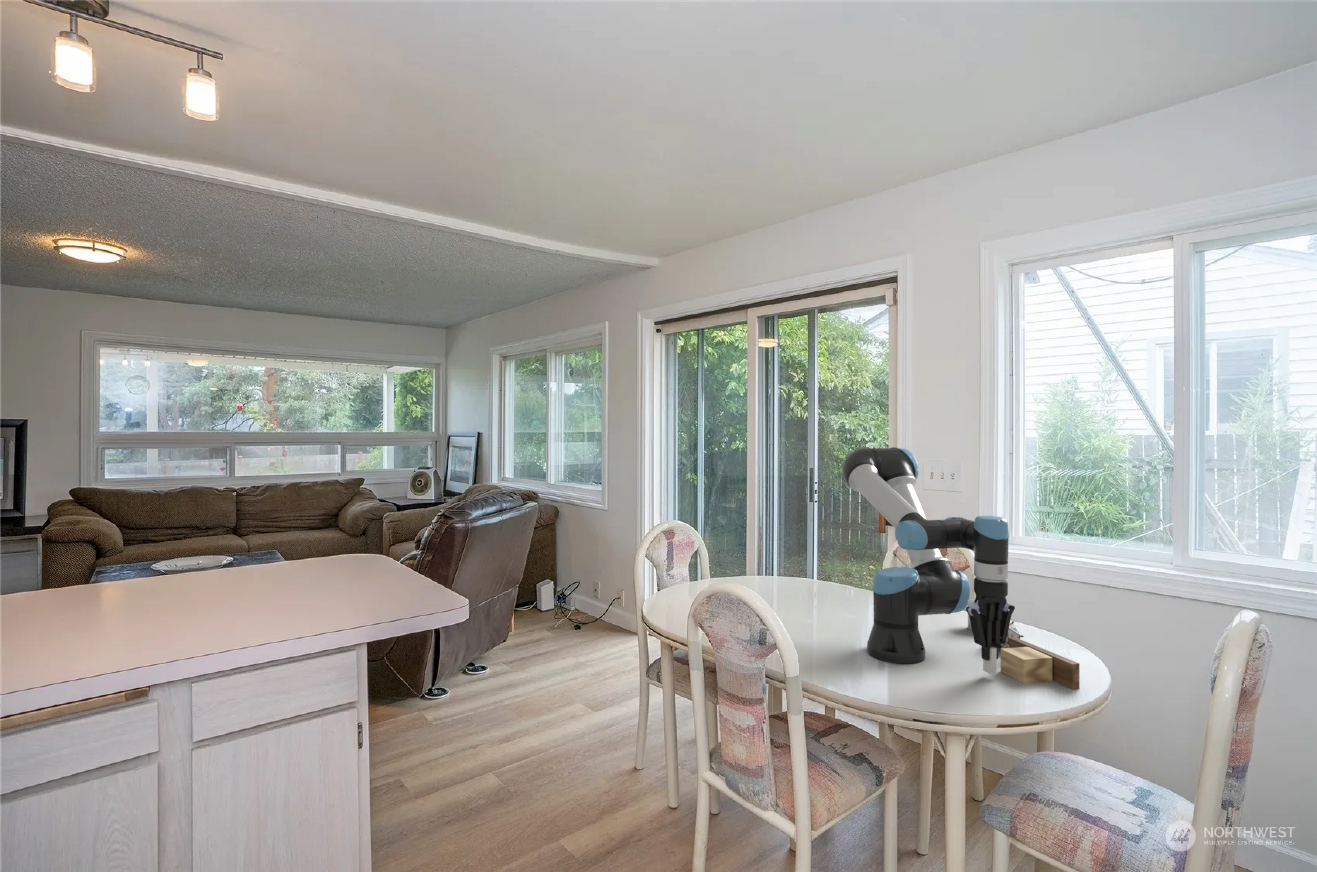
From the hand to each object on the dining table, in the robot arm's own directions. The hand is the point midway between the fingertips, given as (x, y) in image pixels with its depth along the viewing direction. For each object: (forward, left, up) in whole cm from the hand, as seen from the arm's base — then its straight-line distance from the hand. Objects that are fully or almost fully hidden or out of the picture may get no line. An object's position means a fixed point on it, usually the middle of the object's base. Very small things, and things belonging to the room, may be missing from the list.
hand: (989, 672), depth 158 cm
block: (+10, -1, -2) cm, 10 cm away
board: (+15, -1, -1) cm, 15 cm away
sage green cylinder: (+25, +32, -2) cm, 41 cm away
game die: (+19, +16, -2) cm, 25 cm away
